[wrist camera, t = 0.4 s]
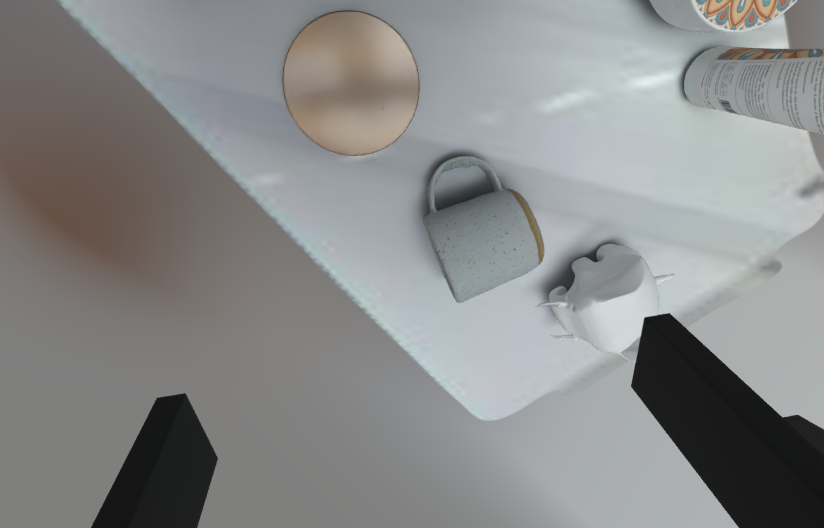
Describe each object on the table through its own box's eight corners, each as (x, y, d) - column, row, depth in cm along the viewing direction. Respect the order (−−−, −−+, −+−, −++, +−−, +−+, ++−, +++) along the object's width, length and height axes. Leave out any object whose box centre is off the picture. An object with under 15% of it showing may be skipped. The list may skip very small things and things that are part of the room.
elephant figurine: (514, 273, 43) (550, 328, 35) (630, 211, 41) (695, 254, 33) (548, 338, 47) (587, 400, 40) (654, 285, 46) (716, 338, 38)
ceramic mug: (525, 242, 41) (559, 283, 34) (443, 275, 42) (461, 322, 35) (494, 135, 36) (526, 158, 30) (402, 174, 37) (412, 205, 30)
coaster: (267, 19, 31) (266, 19, 30) (411, 2, 31) (412, 2, 31) (300, 161, 35) (300, 164, 35) (424, 144, 36) (425, 146, 35)
